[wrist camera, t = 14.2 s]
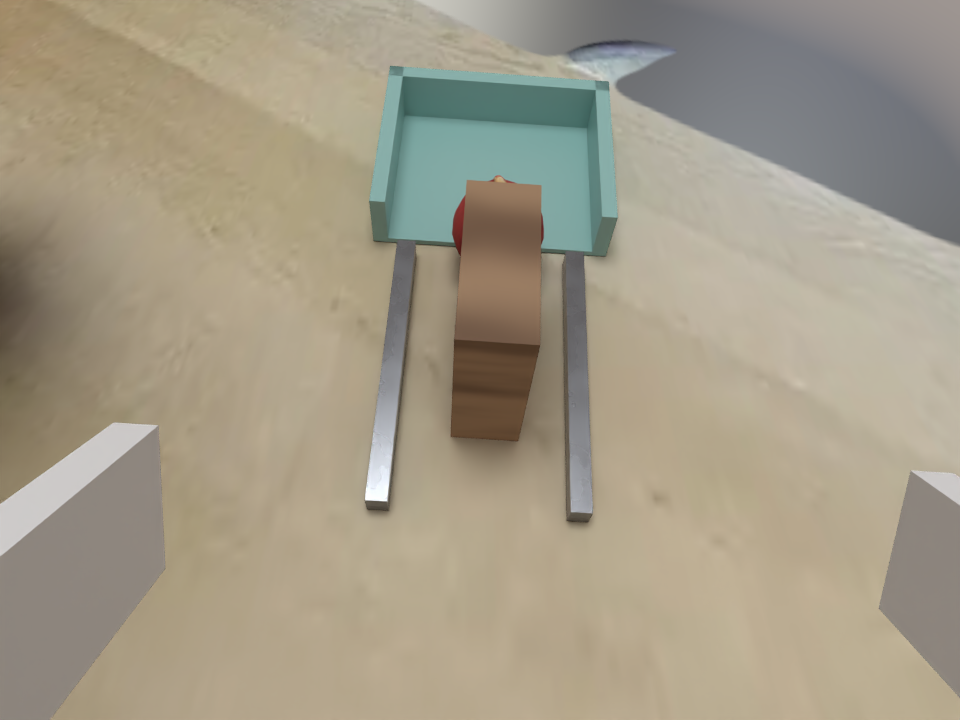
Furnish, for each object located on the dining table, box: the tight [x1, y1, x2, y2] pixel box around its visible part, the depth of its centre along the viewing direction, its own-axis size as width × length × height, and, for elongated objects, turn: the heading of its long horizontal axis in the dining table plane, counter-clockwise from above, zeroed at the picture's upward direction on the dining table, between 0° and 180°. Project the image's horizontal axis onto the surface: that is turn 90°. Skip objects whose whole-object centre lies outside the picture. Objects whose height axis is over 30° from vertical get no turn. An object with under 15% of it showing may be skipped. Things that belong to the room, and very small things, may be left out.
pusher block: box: [451, 180, 542, 441], centre depth 42 cm, size 10×4×11 cm, turn 177°
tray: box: [369, 66, 618, 256], centre depth 53 cm, size 13×16×4 cm
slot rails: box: [365, 240, 593, 522], centre depth 45 cm, size 18×12×2 cm
